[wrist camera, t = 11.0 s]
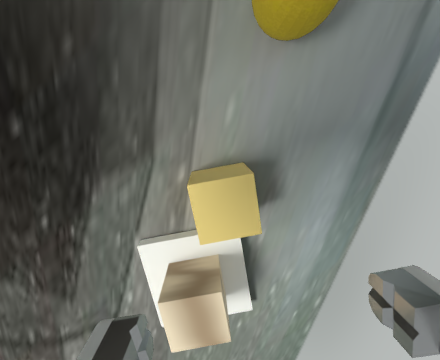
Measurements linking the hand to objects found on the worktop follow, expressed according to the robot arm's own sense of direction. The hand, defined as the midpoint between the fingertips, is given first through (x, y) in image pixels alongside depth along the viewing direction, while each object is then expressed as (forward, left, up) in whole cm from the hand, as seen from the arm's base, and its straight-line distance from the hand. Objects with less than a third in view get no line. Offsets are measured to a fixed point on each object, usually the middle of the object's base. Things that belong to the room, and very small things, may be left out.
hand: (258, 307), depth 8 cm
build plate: (-4, -8, -14) cm, 17 cm away
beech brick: (-4, -8, -13) cm, 16 cm away
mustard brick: (0, 0, -14) cm, 14 cm away
